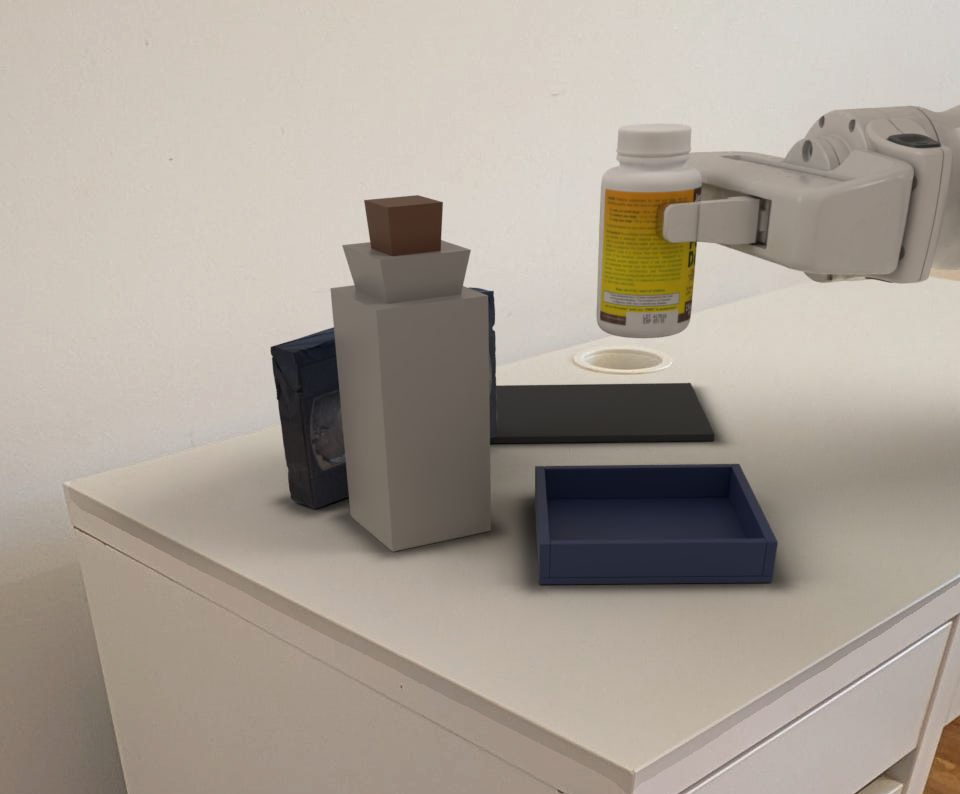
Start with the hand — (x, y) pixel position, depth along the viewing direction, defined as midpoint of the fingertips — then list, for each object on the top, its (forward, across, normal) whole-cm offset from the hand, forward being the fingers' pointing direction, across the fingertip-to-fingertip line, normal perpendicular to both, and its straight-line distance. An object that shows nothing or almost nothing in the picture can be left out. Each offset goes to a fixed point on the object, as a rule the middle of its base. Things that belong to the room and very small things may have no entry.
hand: (635, 214), depth 64 cm
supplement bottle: (-1, 0, +6) cm, 6 cm away
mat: (-6, -20, +17) cm, 27 cm away
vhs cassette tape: (+11, -12, +17) cm, 24 cm away
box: (+1, +5, +17) cm, 18 cm away
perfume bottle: (+13, -2, +17) cm, 21 cm away
